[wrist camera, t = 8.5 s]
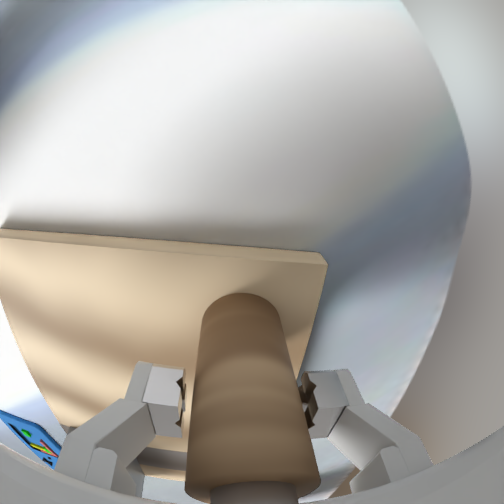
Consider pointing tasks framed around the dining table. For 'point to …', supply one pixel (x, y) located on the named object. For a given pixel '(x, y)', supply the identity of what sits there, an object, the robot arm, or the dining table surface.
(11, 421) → the handheld gaming device
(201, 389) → the marker peg
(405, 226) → the dining table surface
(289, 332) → the plywood board
